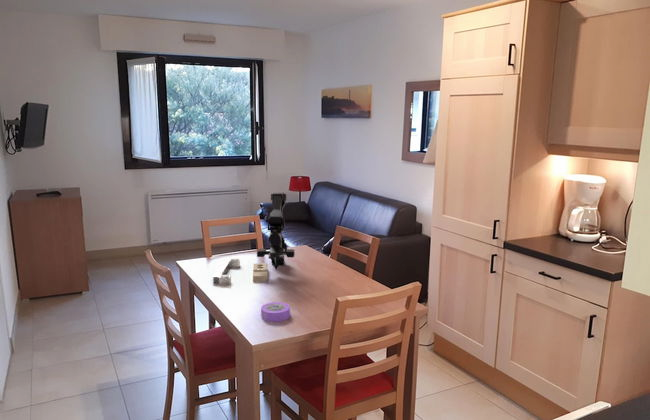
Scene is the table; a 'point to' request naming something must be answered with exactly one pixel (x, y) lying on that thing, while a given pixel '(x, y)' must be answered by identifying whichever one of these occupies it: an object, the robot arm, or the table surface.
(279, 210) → the robot arm
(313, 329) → the table surface
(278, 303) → the masking tape
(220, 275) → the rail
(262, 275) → the electrical outlet
